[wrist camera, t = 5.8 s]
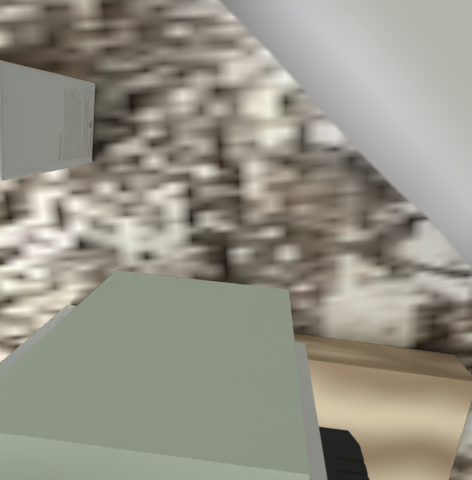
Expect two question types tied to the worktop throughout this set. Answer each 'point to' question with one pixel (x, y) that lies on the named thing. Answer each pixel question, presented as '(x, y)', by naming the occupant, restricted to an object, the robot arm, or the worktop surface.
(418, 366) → the birch block
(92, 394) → the sage block
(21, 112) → the small box
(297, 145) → the worktop surface
